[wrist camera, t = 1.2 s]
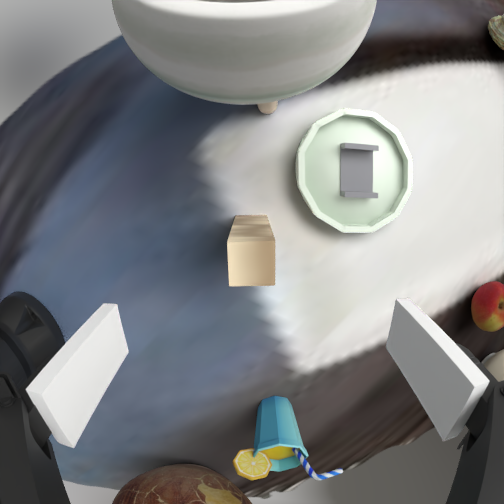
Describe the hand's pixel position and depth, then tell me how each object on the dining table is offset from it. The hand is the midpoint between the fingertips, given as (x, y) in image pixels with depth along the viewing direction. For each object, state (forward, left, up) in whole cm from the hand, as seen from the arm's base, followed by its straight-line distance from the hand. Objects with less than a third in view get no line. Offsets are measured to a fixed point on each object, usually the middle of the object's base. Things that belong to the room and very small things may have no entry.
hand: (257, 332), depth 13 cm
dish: (+12, +7, -22) cm, 25 cm away
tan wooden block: (0, 0, -22) cm, 22 cm away
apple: (+37, -11, -22) cm, 44 cm away
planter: (0, +19, -22) cm, 29 cm away
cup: (+4, -28, -22) cm, 36 cm away
